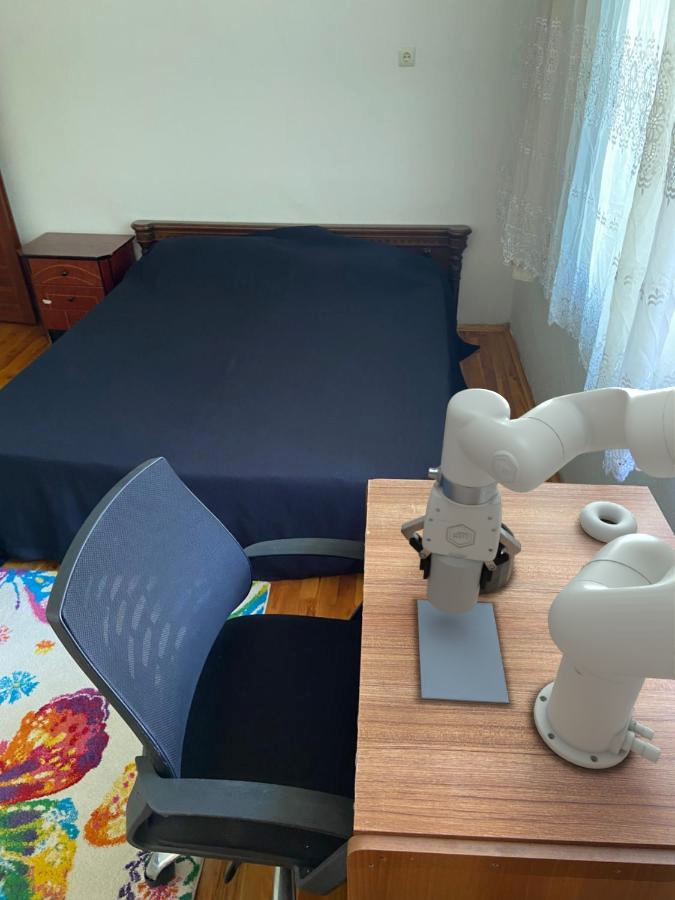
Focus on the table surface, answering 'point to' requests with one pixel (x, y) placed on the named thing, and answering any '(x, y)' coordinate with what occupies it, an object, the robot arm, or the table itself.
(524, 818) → the table surface
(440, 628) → the cloth
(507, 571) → the pot
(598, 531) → the donut
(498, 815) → the table surface
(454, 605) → the can
